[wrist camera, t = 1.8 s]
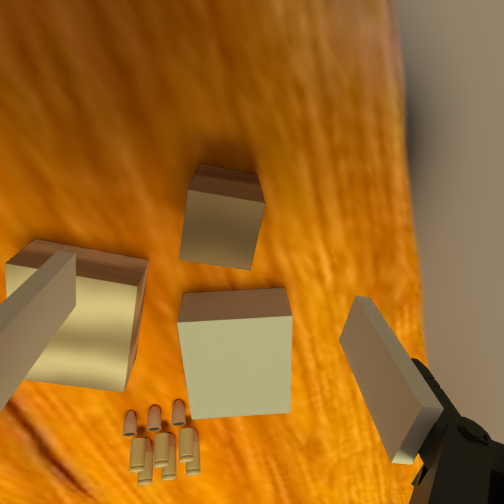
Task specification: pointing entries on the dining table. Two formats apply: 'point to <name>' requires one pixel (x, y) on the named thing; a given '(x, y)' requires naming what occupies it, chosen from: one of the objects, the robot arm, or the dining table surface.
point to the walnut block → (222, 217)
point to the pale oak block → (89, 317)
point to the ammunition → (162, 446)
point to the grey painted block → (236, 352)
